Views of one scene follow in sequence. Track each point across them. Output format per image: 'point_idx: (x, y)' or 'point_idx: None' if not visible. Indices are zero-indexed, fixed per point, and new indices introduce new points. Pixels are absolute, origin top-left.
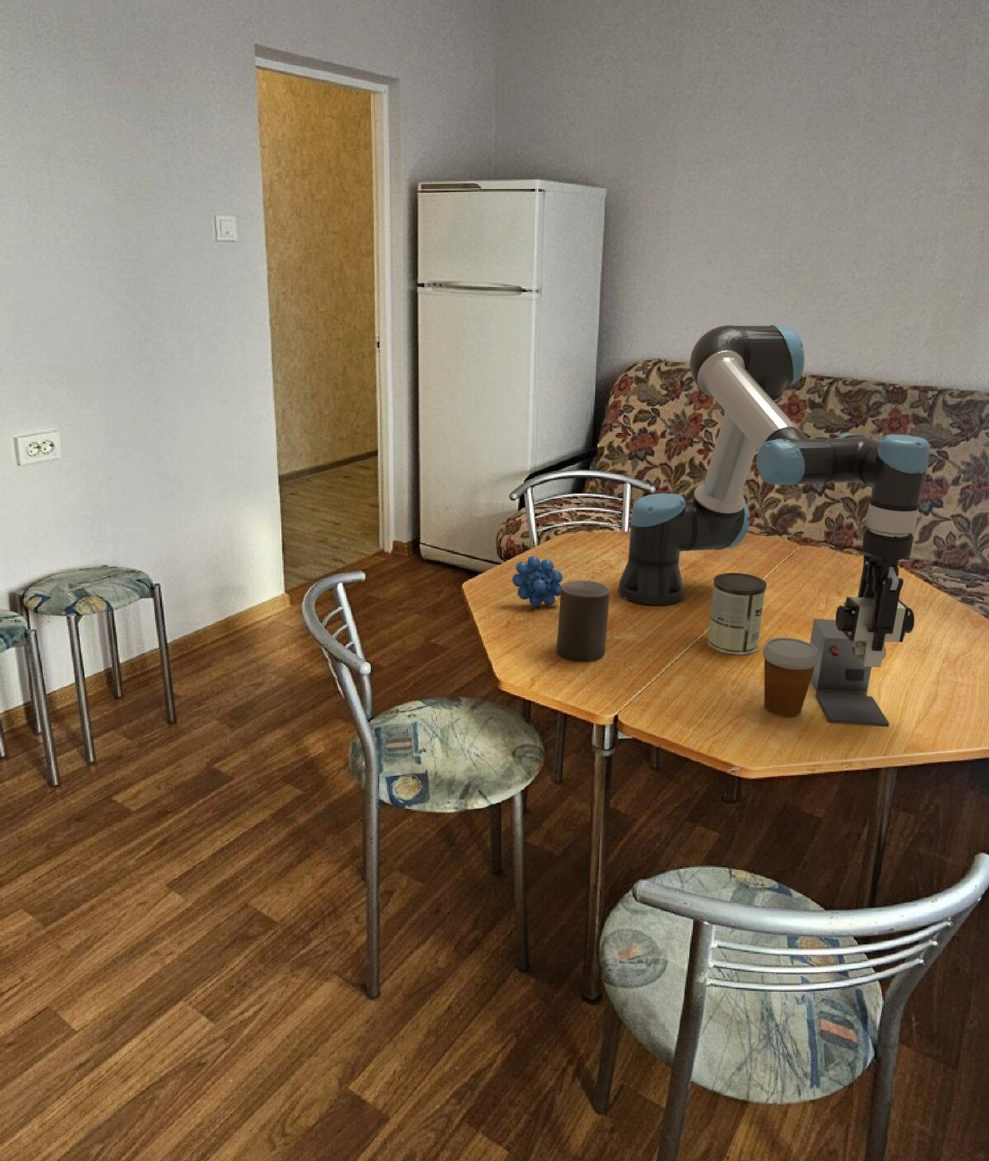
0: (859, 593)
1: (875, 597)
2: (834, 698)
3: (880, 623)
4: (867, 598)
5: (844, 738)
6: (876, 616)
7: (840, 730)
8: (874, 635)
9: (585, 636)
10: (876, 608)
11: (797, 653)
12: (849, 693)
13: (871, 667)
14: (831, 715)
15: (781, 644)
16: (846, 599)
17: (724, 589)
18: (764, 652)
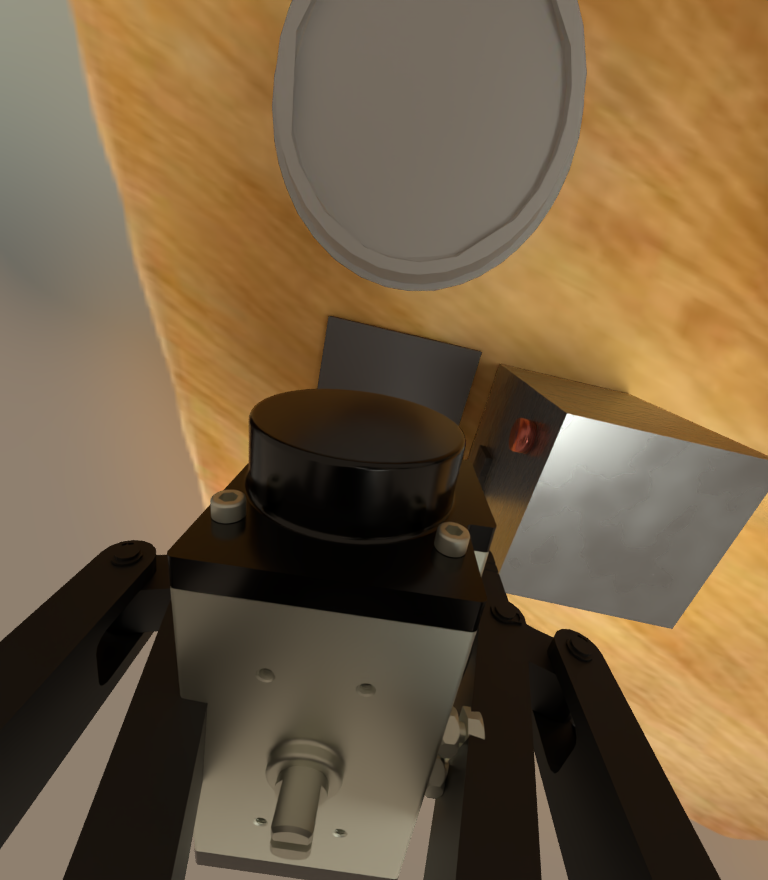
0: (622, 743)
1: (140, 825)
2: (440, 387)
3: (58, 599)
4: (414, 743)
5: (248, 316)
6: (161, 634)
7: (288, 326)
8: None
9: None
10: (136, 697)
11: (365, 127)
12: (473, 445)
13: None
14: (347, 331)
15: (502, 69)
16: (472, 579)
17: None
18: None
